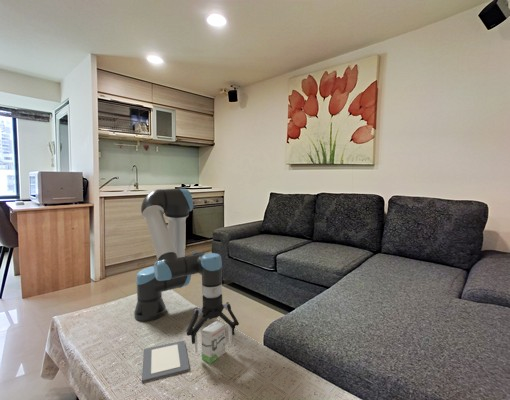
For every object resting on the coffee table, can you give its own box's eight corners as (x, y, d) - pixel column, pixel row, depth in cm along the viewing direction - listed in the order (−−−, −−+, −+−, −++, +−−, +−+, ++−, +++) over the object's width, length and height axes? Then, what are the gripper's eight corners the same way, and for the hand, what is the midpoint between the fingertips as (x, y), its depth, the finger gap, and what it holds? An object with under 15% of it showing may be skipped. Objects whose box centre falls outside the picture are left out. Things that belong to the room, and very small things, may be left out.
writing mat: (143, 350, 110) (143, 348, 109) (184, 342, 115) (184, 339, 115) (141, 382, 93) (141, 379, 93) (189, 370, 98) (189, 368, 98)
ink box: (210, 364, 101) (209, 334, 100) (201, 359, 104) (200, 330, 103) (225, 352, 108) (225, 324, 107) (217, 347, 111) (216, 320, 110)
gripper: (179, 304, 96) (181, 360, 98) (246, 293, 105) (246, 344, 107) (178, 295, 103) (180, 348, 105) (240, 285, 112) (241, 334, 114)
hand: (213, 346), depth 106 cm, fingers open, 13 cm apart
